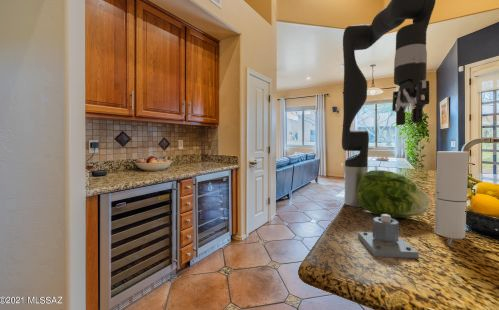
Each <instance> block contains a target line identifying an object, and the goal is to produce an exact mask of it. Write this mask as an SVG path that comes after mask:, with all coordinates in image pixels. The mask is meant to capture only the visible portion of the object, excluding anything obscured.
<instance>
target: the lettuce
mask: <svg viewBox="0 0 499 310" xmlns="http://www.w3.org/2000/svg"><path fill="white" fill-rule="evenodd" d="M357 201H358V203H359V204H360V205H361V207H360V208H362V209H364V210H366V211H368V212H369V213H372V214H374V215H377V216H378V217H381V215H382V214H387V215H390V216H391V219H404V218H409V217H413V216H420V215H423V214H425V213H427V211H428V209H429V208H430V198H429V196H428V195H427V194H426V192H425V191H424V190H423V189H421V188H420V187H419V186H417V184H416V183H415V182H414V181H413V180H411V179H410V178H408V177H406V176H405V175H402V174H399V173H396V172H393V171H389V170H380V169H379V170H378V169H376V170H369V171H368V172H367V173H365V174H364V175H363V176H362V178H361V180H360V182H359V185H358V189H357Z"/></svg>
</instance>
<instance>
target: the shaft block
mask: <svg viewBox="0 0 499 310" xmlns="http://www.w3.org/2000/svg"><path fill="white" fill-rule="evenodd" d="M380 217H381V221H382V222H386V223H391V219H392V218H391V216H390V215H387V214H382V215H381V216H380ZM357 237H358V239H359V240H360V241H361V242H362V243H363V245H364V246H365V247H366V248H367V250H368V251H369V252H370V253H371V254H372V255H373V256H374V257H378V258H380V257H382V258H400V259H401V258H403V259H405V258H406V259H419V251H417V249H415V248H414V247H412V246H411V245H410V244H408V243H407V242H406V241H405V240H403V239H402V238H401V237H400V236H399V240H398V242H396V243H384V242H381V241H377V240H375V239H374V238H373V232H369V231H368V232H367V231H366V232H365V231H358V232H357Z"/></svg>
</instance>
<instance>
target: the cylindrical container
mask: <svg viewBox="0 0 499 310" xmlns="http://www.w3.org/2000/svg"><path fill="white" fill-rule="evenodd" d="M468 175H469V151H458V150H457V151H450V150H443V151H440V150H439V151H438V150H437V151H436V175H435V176H436V177H435V178H436V180H435V203H434V204H435V207H434V208H435V209H434V233H435V234H436V235H438V236H442V237H444V238H449V239H455V240H463V238H464V239H465V238H466V231H467V227H466V226H467V225H466V224H467V204H468V203H467V200H468V180H469V179H468V177H469V176H468ZM465 211H466V212H465Z"/></svg>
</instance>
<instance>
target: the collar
mask: <svg viewBox="0 0 499 310" xmlns="http://www.w3.org/2000/svg"><path fill="white" fill-rule="evenodd" d="M399 229H400V222H399V221H398V220H397V219H396V218H391V223H386V222H382V221H381V216H376V217H373V218H372V233H373V238H374V239H375V240H377V241H381V242H384V243H396V242H398V240H399V237H400V236H399V235H400V234H399V233H400V230H399Z"/></svg>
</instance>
